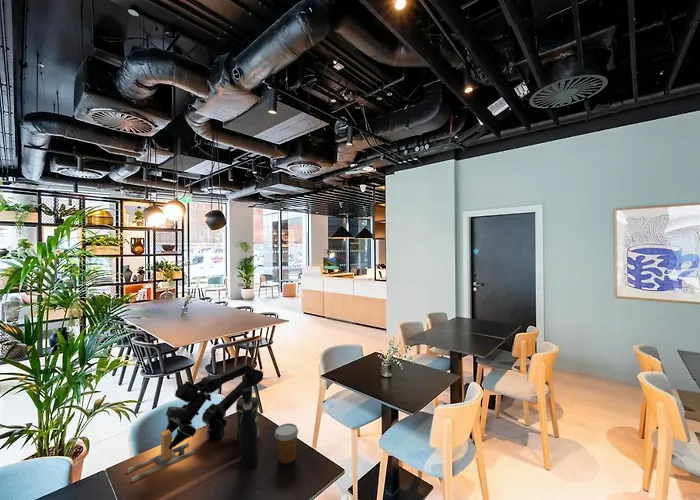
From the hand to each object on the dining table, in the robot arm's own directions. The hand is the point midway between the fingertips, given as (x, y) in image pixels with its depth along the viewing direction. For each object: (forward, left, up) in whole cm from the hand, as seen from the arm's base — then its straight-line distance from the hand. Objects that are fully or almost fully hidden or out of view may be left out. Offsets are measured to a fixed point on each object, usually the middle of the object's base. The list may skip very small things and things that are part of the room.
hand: (166, 443), depth 127 cm
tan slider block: (0, 0, -7) cm, 7 cm away
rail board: (+1, 0, -8) cm, 8 cm away
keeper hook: (-6, 0, -7) cm, 9 cm away
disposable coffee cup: (-35, +35, -8) cm, 50 cm away
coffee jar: (-31, +10, -8) cm, 33 cm away
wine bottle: (-23, +26, -8) cm, 35 cm away
